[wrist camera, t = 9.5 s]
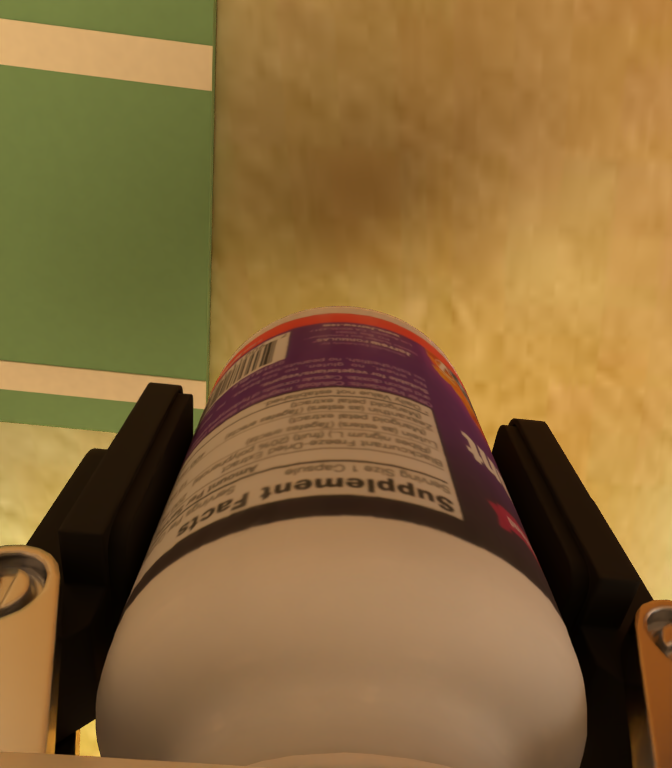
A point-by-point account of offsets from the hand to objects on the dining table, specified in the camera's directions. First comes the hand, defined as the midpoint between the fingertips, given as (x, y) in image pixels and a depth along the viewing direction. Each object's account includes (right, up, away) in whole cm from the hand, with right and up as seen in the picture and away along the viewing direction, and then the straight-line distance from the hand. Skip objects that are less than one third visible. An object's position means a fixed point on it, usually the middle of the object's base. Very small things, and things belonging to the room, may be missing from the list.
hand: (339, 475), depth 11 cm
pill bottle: (0, +1, +2) cm, 2 cm away
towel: (-13, +8, +13) cm, 20 cm away
